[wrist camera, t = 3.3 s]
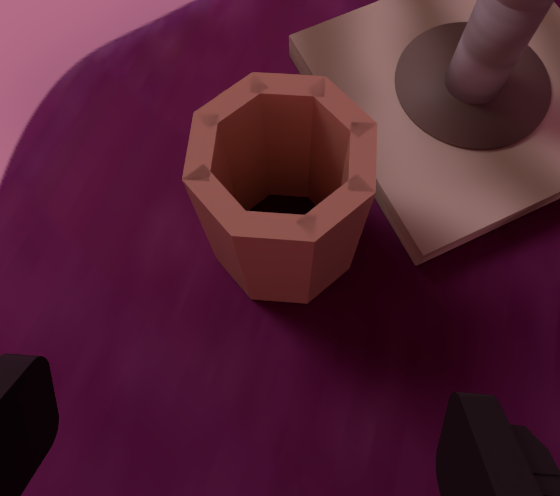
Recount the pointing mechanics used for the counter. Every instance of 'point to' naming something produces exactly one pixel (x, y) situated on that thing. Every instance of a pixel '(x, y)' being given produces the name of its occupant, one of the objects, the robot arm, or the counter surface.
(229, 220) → the collar
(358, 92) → the post stand
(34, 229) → the counter surface
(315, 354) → the counter surface
